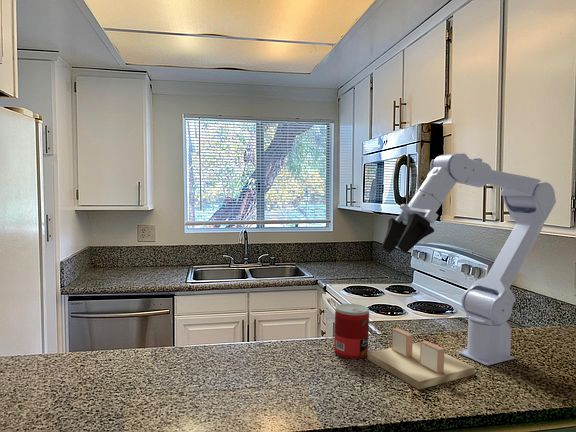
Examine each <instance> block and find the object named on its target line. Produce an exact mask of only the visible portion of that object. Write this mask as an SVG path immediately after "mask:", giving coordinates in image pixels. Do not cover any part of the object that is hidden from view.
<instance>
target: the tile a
mask: <svg viewBox="0 0 576 432" xmlns="http://www.w3.org/2000/svg"><path fill="white" fill-rule="evenodd" d="M391 332H392V333H391V348H392V350H393V351H395V352H397V353H399V354H401V355H403V356H405V357H412V345H413V343H414V341H413V340H414V334H413V333H410V332H407V331H405V330H403V329H401V328H398V327H395V328H392V329H391Z"/></svg>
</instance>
